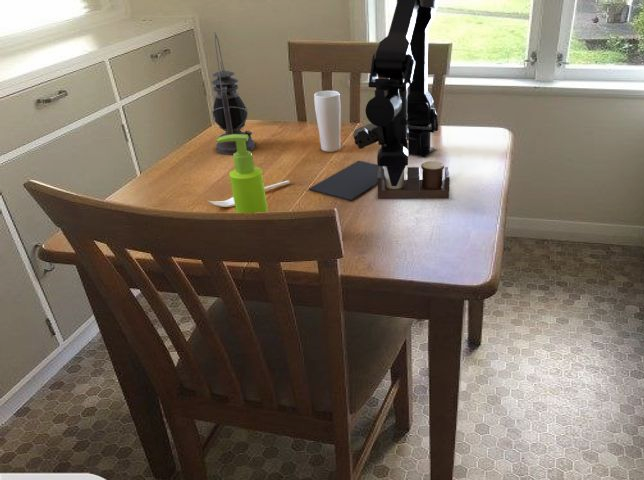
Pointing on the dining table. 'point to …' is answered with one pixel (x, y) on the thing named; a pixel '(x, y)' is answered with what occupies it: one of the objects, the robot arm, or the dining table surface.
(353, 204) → the dining table surface
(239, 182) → the soap dispenser
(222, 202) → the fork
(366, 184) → the mat
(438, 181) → the cylinder
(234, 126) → the lantern
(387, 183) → the coffee pod
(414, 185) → the pod rack
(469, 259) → the dining table surface
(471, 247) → the dining table surface
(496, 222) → the dining table surface
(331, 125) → the drinking glass
